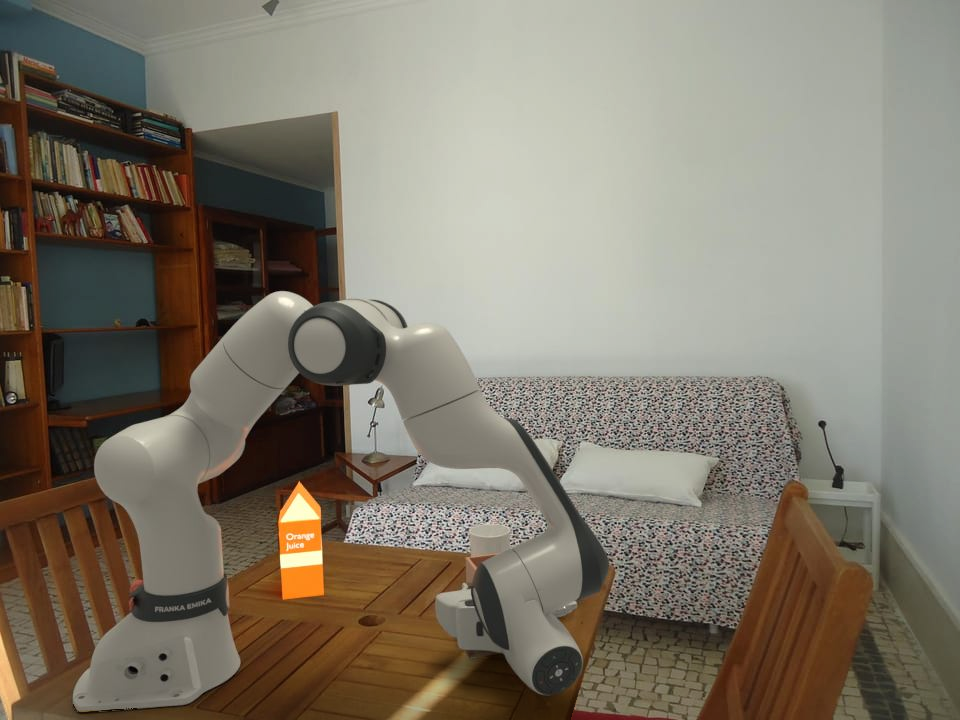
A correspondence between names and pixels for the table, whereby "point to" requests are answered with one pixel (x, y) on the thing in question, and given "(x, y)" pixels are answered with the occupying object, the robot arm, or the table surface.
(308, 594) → the orange juice
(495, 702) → the table surface
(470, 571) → the pink square pot
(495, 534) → the white cup
